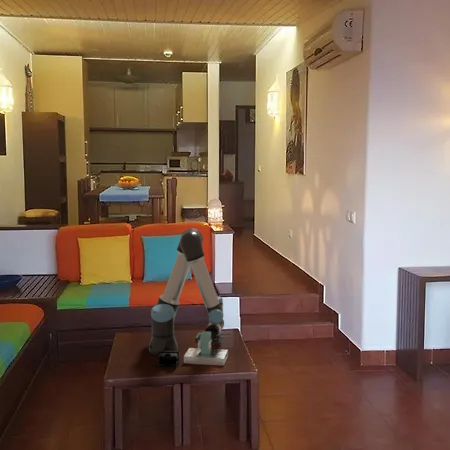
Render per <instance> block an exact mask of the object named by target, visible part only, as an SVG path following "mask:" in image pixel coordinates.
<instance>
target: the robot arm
mask: <svg viewBox="0 0 450 450" xmlns="http://www.w3.org/2000/svg"><path fill="white" fill-rule="evenodd" d="M203 243H204V237H203V233H201V232H200V231H199V230H198V229H197V228H188V229H186V230H184V231H183V232H182V233H181V236H180V238H179V242H178V245H177V248H176V252H177V256H176V259H175V261H174V264H173V267H172V270H171V272H170V275H169V277H168V281H167V283H166V286H165V289H164V292H163V294H160V295H159V297H158V299H157V303H156V305H154V306H153V307H152V308H151V312H150V316H151V318H150V320H151V339H150V342H149V345H148V352H149V354H151V355H153V356H158V352H159V351H179V345H178V342H177V339H176V337H175V319H176V318H175V317H176V315H177V312H178V310H179V306H180V304H181V303H180V300H179V298H180V296H181V293H182V291H183V288H184V285H185V282H186V280H187V277H188V274H189V272H190V268H191V270H192V273H193V276H194V279H195V281H196V285H197V286H198V289H199V292H200V295H201V298H202V300H203V303H204V306H205V310H206V311H207V312H206V313H207V316H208V319H209V321H208V324H207V326H206V327H205V330H204V331H208V332H211V340H210V342H209V343H208V349H210V348H211V349H212V346H213V347H214V345H215V344H216V345H219V343H220V342H221V340H223V338H224V333H223V332H221V331H222V330H223V329H224V326H225V320H224V301H223V297H221V296H218V295H217V292H216V289H215V287H214V286H215V285H214V283H213V281H212V278H211V274H210V272H209V270H208V267H207V265H206V262H205V253H204V248H203ZM201 333H202V332H200V331H198V332H197V334H196V337H195V338H194V339H195V344H197V348H198V349H199V348H200V349H201V338H200V334H201Z"/></svg>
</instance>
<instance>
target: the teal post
mask: <svg viewBox="0 0 450 450" xmlns="http://www.w3.org/2000/svg"><path fill="white" fill-rule="evenodd" d="M200 333H201V334H200V338H201V347H200V349H201V355H205V356H211V349H212V347H211V348H210V349H208V343H209V342H210V340H211V332H208V331H205V330H204V331H203V330H202V331H201V332H200Z"/></svg>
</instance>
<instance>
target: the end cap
mask: <svg viewBox="0 0 450 450" xmlns="http://www.w3.org/2000/svg"><path fill="white" fill-rule="evenodd" d="M157 356H158V357H157V359H158V362H157V364H158V368H159V367H166V368H165V369H177V368H178V366H179V364H180V351H179V350H178V351H159V352H158V355H157Z"/></svg>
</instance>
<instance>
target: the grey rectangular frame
mask: <svg viewBox="0 0 450 450" xmlns="http://www.w3.org/2000/svg"><path fill="white" fill-rule="evenodd" d="M228 357H229V349H221V348H220V349H217V348H216V349H215V348H211V356H205V355H201V347H200V348H199V349H198V347H195V348H194V347H188V349H187V351H186V352H185V353H184V355H183V364H191V365H206V366H207V365H208V366H210V365H211V366H225V364H226V362H227V360H228Z"/></svg>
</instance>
